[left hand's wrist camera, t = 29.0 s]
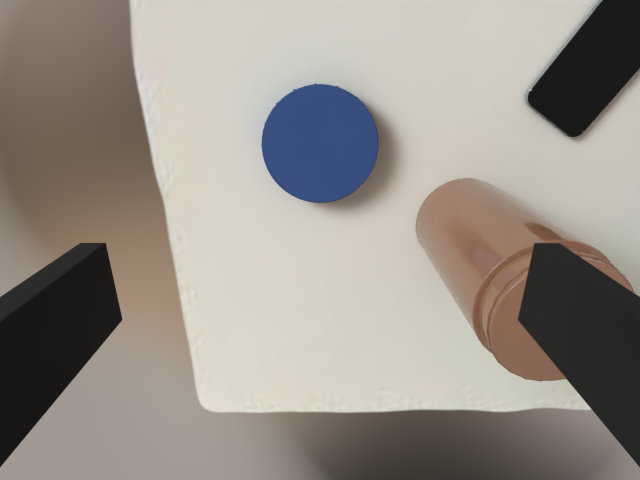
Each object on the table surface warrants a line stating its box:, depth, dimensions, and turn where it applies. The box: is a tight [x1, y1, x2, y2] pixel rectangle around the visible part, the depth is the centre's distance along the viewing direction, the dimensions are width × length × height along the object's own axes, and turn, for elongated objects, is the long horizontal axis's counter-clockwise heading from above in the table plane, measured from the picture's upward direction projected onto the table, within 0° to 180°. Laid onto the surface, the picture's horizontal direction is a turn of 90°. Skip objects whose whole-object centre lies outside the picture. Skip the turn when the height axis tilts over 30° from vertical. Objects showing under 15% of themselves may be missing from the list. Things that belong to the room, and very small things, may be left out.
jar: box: [416, 179, 634, 381], centre depth 35 cm, size 10×10×20 cm
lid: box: [262, 84, 378, 203], centre depth 39 cm, size 11×11×2 cm
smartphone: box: [525, 0, 640, 137], centre depth 37 cm, size 7×1×15 cm
